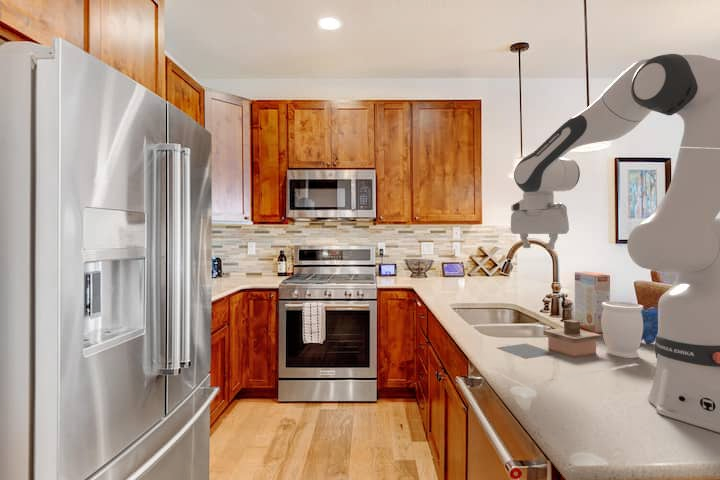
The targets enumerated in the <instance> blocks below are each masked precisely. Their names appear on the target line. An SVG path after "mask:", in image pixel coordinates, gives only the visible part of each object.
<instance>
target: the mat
mask: <svg viewBox="0 0 720 480" xmlns="http://www.w3.org/2000/svg"><path fill="white" fill-rule="evenodd" d="M497 349H498V350H500V351H504V352H506V353H508V354H509V353H510V354H511V355H514V356H517V357H520V358H522V359H525V360H527V359H533V358H539V357H546V356H552V355H557V353H558V352H557V353H556V352H555V351H552V350H549V349H548V350H547V349H545V348H541V347H538V346H535V345H532V344H528V343H520V344H513V345H506V346H505V345H504V346H500V347H499V346H498V347H497Z"/></svg>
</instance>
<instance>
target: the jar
mask: <svg viewBox="0 0 720 480" xmlns="http://www.w3.org/2000/svg"><path fill="white" fill-rule="evenodd" d="M602 307H603V308H604V310H603V313H602V320H601V324H602V331H603V333H602V338H603V340H604V343H605V344H604V345H605V346H606V349H605V353H607V354H609V355H612V356H615V357H616V356H617V357H622V358H625V359H637V358H639V357H640V355H639V353H638V350H639V348H640V346H641V343H642V341H641V338H642V334H643V318H642V314H641V311H642V310H643V309H644V305H642V304H640V303H639V304H638V303H633V302H628V301H627V302H625V301H610V302H603V303H602Z"/></svg>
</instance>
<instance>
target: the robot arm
mask: <svg viewBox="0 0 720 480" xmlns="http://www.w3.org/2000/svg"><path fill="white" fill-rule="evenodd" d="M652 111H653V112H657V113H659V114H662V115H666V116H673V115H675V114H676V115H678V116H679V117H680V118H681V119H682V120H683V126H684V127H683V133H682V137H681V141H680V145H679V146H680V147H679V149H678V154H677V159H676V161H675V162H676V163H675V166H674V169H673V170H674V171H673V173H672V177H671V181H670V183H669V186H668V189H667V191H666V193H665V194H664V196H663V198H662V200H661V201H660V203H659V204H658V205H657V207H656V208H655V210H654V211H653V212H652V213H651V214H650V215H649V216H648V217H647V218H646V219H645V220H643V221H642V222H641V223H639V224H637V225H636V226H634V227H633V229H632V230H631V231H630V233H629V235H628V238H627V247H626V248H627V252H628V255H629V257H630V259H631V260H632V262H633V263H634V264H635V265H637V266H638V267H640V268H642V269H646V270H651V271H655V272H661V273H677V275H676V278H675V280H674V282H673V283H672V284H671V287H670V288H669V289H668V290H666V291H665V292H664V293H663V294H662V295H661V296H660V297H659V299H658V302H657V303H658V304H657V309H658V334H657V335H656V338H655V341H654V343H655V345H654V347H655V348H654V349H655V350H654V353H655V358H656V363H655V364H656V365H655V373H654V376H653V377H654V378H653V382H652V385H651V388H650V389H651V390H650V392H649V394H648V399H647V400H648V401H649V402H650V404H652V405H653V406H654V407H655V409H656V412H657V413H658V414H660V415H663V416H664V417H667V418H671V419H675V420H678V421H681V422H683V423H687V424H690V425H693V426H697V427H700V428H704V429H707V430H710V431H713V432H716V433H719V434H720V218H719V217H718V215H719V213H720V59H717V58H712V57H708V56H705V55H700V54H699V55H698V54H679V53H678V54H677V53H666V54H661V55H657V56H654V57H652V58H645V59H641V60H639V61H636V62H635V63H633V64H632V65H631V66H629V67H628V68H627V69H625V71H623V72H622V73H621V74H620V75H619V76H618V77H617V78H615V80H614V81H613V82H612V83H611V84H609V86H608V87H607V88H606V89H605V90H604V92H603V93H602V94H600V96H599V97H598V98H597V99H596V100H595V101H593V103H591V104H590V105H588V107H587V108H585V109H584V110H583V111H581V112H579V113H578V114H576V115H574V116H573V117H572V118H570V119H568V120H567V121H565V122H564V123H563V124H562V125H560V127H558V128H557V129H556V130H555V131H554V132H553V133H552V134H551V135H549V137H548V138H547V139H546V140H545V141H544V142H543V143H542V144H541V145H540V146H538V147H537V148H536V150H534V151H533V152H531V153H529V154H528V155H526V156H525V157H524V158H522V159H521V160H520V161H519V162H518V163H517V165H516V167H515V169H514V174H513V178H514V182H515V184H516V185H517V187H518V188H519V189H520V190H521V191H523V193H522V199H520V200H519V201H517V202H516V203H513V204H512V205H511V207H510V211H511V212H512V213H511V217H510V231H511V233H512V234H513V235H519V237H520V240H521V243H522V247H523V248H524V249H530V248H531V242H529V239H528V238H529V235H548V238H549V241H548V243H547V242H546V243H545V244H546V247H545V249H546V250H554V249H555V243H556V242H557V240H558V237H559V236H558V235H566V234H568V233H569V230H570V225H569V217H568V213H567V212H568V209H567V206H566V205H565V204H564V203H562V202H557V203H554V199H555V198H554V192H566V191H567V192H568V191H571V190H573V189H574V188H575V187H576V186H577V184H578V183H579V180H580V177H581V171H580V170H581V169H580V167H579V165H578V163H577V162H576V161H575V160H574V159H570V158H566V157H565V158H564V156H565V155H566V154H567V153H568V152H570V151H571V150H573V149H576V148H578V147H582V146H585V145H590V144H596V143H602V142H609V141H615V140H617V139H618V140H619V139H620V138H622V137H624V136H625V135H626V134H628V133H630V132H631V131H633V129H635V128H636V127H637V126H638V125H639V124H640V123H641V122H642V121H643V120H645V118H646V117H647V116H648V115H650V113H651V112H652ZM717 217H718V218H717Z"/></svg>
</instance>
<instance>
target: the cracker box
mask: <svg viewBox="0 0 720 480" xmlns="http://www.w3.org/2000/svg"><path fill="white" fill-rule="evenodd" d="M610 297H611V275H609V274H603V273H598V272H591V271H575V272H574V319H573V320H576V321H580V329H581V328H582V329H584V330H585V331H588V332H592V333H596V334H603V331H602V324H601V320H602V313H603V310H604V308H603V307H602V303H603V302H611V300H610V299H611V298H610Z"/></svg>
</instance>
